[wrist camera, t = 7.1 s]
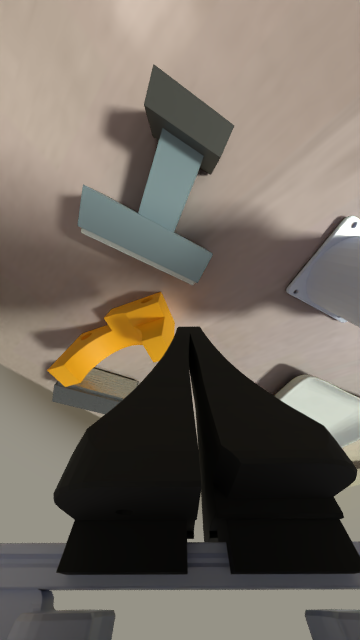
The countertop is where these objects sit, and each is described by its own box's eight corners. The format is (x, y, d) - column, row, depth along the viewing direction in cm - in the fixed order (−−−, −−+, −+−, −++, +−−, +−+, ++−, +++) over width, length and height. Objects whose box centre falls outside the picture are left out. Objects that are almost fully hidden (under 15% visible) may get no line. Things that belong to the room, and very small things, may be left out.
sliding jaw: (246, 170, 13) (268, 151, 10) (192, 277, 17) (195, 287, 14) (126, 85, 11) (104, 26, 8) (97, 231, 15) (76, 231, 12)
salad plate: (217, 428, 33) (221, 448, 30) (294, 358, 24) (311, 377, 21) (294, 448, 38) (304, 467, 35) (383, 396, 28) (408, 416, 25)
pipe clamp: (161, 291, 18) (153, 318, 13) (174, 321, 20) (172, 357, 15) (74, 322, 20) (33, 357, 15) (94, 347, 22) (65, 387, 17)
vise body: (139, 380, 25) (133, 404, 22) (132, 394, 27) (125, 419, 23) (73, 359, 23) (54, 383, 20) (70, 377, 25) (52, 401, 21)
